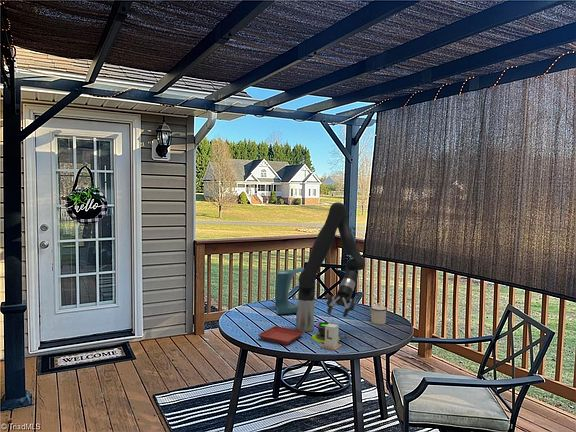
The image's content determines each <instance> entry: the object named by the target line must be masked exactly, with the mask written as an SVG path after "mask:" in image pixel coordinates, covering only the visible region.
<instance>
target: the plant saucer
mask: <svg viewBox="0 0 576 432" xmlns="http://www.w3.org/2000/svg"><path fill="white" fill-rule="evenodd" d="M303 334H304V331H300V330H298V329H294V328H289V327H285V326H284V327H283V326H278V325H274V326H272V327H270V328H268V329H266V330H265V331H263V332H260V333H259V334H257V335H258V337H259V338H260V339H261V340H263V341H267V342H270V343H275V344H281V345H284V346H288V345H289V344H292V342H294V341H296V340H297V339H299V338H300V337H301V336H302V335H303Z"/></svg>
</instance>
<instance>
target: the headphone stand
mask: <svg viewBox="0 0 576 432" xmlns="http://www.w3.org/2000/svg"><path fill="white" fill-rule="evenodd" d="M304 268H305V267H304ZM304 268H303V267H297V268H295V269H283V270H282V269H281V270H276V278H275V279H276V283H275V299H274V304H275V305H274V306H275V309H274V310H275V312H276V314H277V315H289V314H290V315H291V314H296V313H297V312H298V304H296V303H295V304H293V303H290V301H289V293H290V288H291V283H292V280H293V278H294V276H295V274H301V272H302V271H303V270H304ZM315 304H316V303H315ZM315 304H314V306H315Z"/></svg>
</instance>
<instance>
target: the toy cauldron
mask: <svg viewBox="0 0 576 432" xmlns="http://www.w3.org/2000/svg"><path fill="white" fill-rule="evenodd" d="M325 319H326V318H324V317H323V320H325ZM320 320H322V318H321V319H318V321H319V322H316V324H315V326H316V327H317V332H318V333H315V334H312V335H311V339H312V340H313V341H314V342H318V343H323V344H324V343H325V326H326V325H327V324H329V323H331V324H335V322H334V323H333V322H329V321H328V322H327V321H320ZM340 340H341V338H340V336H338V342H339V341H340Z"/></svg>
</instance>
